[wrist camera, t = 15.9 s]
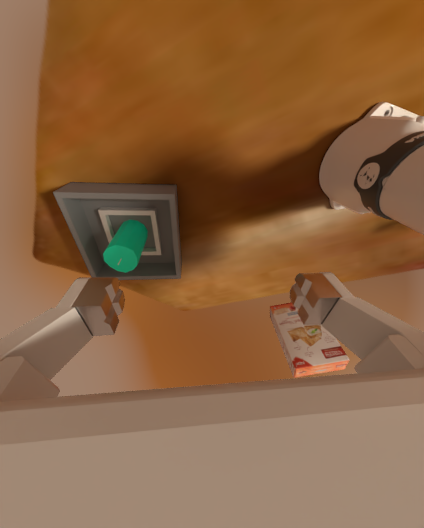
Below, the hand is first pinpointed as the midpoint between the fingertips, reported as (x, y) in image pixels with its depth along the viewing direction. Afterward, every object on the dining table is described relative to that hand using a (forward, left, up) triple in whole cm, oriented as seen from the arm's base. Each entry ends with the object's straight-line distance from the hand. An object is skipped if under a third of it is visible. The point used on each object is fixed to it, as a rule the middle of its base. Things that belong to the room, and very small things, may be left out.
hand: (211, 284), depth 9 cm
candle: (+14, +15, -33) cm, 39 cm away
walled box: (+14, +15, -34) cm, 40 cm away
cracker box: (-32, +45, -34) cm, 65 cm away
